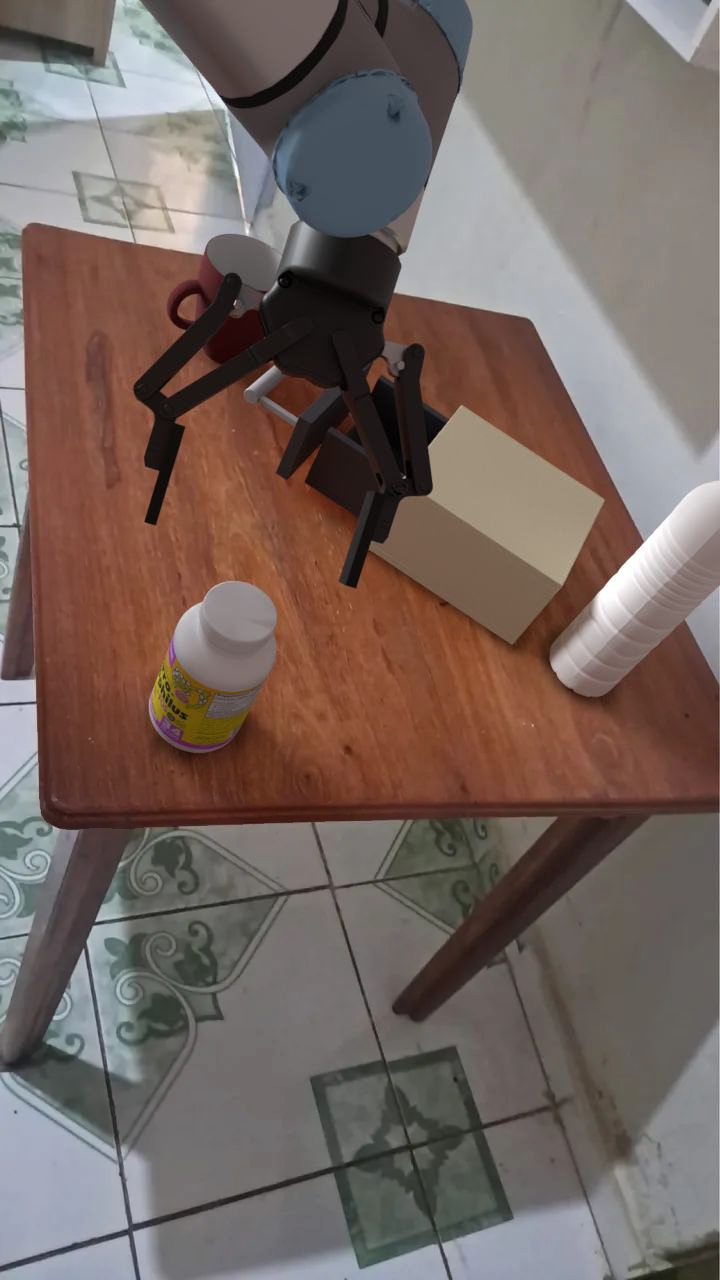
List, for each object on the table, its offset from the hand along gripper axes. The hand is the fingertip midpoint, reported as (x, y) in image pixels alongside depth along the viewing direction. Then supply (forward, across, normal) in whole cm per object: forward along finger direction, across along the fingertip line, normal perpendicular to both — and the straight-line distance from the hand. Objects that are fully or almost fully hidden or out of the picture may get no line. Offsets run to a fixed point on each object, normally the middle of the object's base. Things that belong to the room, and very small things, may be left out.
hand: (250, 555), depth 63 cm
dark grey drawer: (-10, +8, +24) cm, 27 cm away
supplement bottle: (+12, 0, +4) cm, 13 cm away
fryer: (-5, +21, +21) cm, 30 cm away
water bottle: (+2, +33, +14) cm, 36 cm away
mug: (-16, -6, +32) cm, 37 cm away
